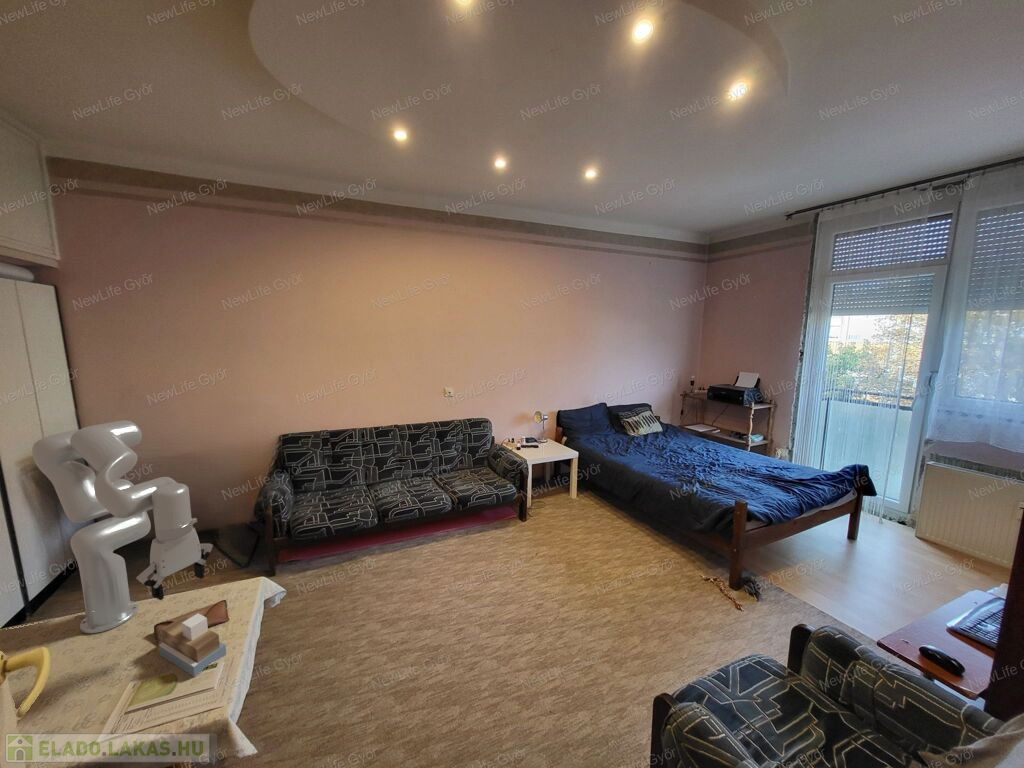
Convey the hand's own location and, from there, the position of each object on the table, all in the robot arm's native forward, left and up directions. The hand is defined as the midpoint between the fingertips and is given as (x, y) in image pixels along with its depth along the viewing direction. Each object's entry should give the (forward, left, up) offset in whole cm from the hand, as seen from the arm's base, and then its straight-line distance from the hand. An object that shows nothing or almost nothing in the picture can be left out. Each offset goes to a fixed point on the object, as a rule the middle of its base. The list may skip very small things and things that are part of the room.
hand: (180, 587), depth 109 cm
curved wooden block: (+3, 0, -17) cm, 17 cm away
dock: (+3, 0, -20) cm, 20 cm away
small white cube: (+4, +1, -13) cm, 14 cm away
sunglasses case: (-8, +6, -21) cm, 23 cm away
